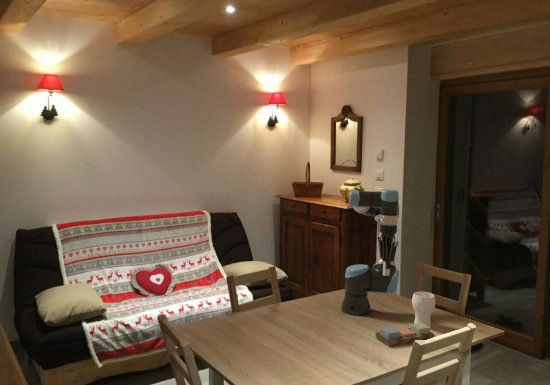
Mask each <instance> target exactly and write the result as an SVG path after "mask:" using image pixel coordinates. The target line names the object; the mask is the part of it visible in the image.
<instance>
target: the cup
mask: <svg viewBox="0 0 550 385" xmlns="http://www.w3.org/2000/svg"><path fill="white" fill-rule="evenodd" d="M411 304H412V308H413V311H414V316H415V317H414V322H413V324H416V323H423V324H425V325H427V326H429V327H430V328H431V326H432V325H431V315H432V313H433V312H434V310H435V307H436V297H435V294H433V293H431V292H429V291H428V292H427V291H415V292H414V293H413V295H412V298H411Z"/></svg>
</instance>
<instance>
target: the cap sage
mask: <svg viewBox="0 0 550 385" xmlns="http://www.w3.org/2000/svg"><path fill="white" fill-rule="evenodd" d="M409 328H410V330H411V331H413V332H415V333H416V334H418V335H423V334H429V333H430V332H431V327H429V326H427V325H425V324H423V323H416V324H414V323H410V327H409Z"/></svg>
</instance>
